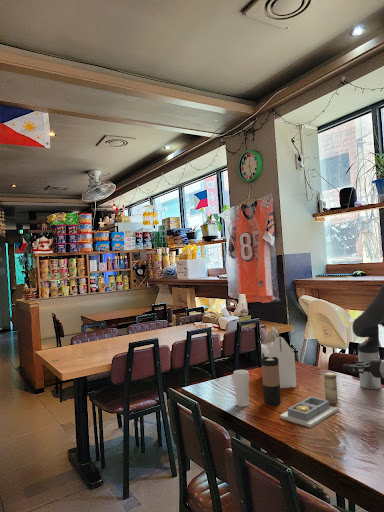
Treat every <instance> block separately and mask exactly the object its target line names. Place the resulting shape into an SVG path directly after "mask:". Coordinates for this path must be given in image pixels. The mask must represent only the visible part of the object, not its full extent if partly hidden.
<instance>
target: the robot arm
mask: <svg viewBox="0 0 384 512" xmlns="http://www.w3.org/2000/svg"><path fill="white" fill-rule="evenodd" d="M378 290H379V291H378V292H377V294H376V295H375V297H374V299H373V300H372V301H371V302H370V304H368V306H367V307H366V309H365V310H364V311H363V312H362V313H361V314H360V315H359V316H358V317H356V318H355V319H354V320H353V322H352V332H353V334H354V335H355V336H356V337H358V338H367V339H366V340H365V341H363V342H361V343H359V344H357V354H358V361H357V360H355V361H353V363H354V364H345V363H344V364H342V369H343V370H344V371H349V373H351V374H352V373H354V374H359V385H360V386H359V387H361V388H362V389H368V390H378V389H381V388H382V383H381V379H384V358H380V351H379V347H380V339H379V338H380V335H379V334H380V333H379V332H380V331H379V330H380V328H379V327H380V326H379V325H381V324H383V323H384V283H383V284H382V285H381V287H380V288H379V289H378Z"/></svg>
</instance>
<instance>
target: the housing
mask: <svg viewBox="0 0 384 512" xmlns="http://www.w3.org/2000/svg"><path fill="white" fill-rule="evenodd" d="M338 411H339V408H338V407H335V406H332V405H330V403H329V401H327V400H326V399H323V398H318V397H315V396H309V397H307V398H304V399H303V400H301V401H300V402H297V403H296V404H293V405H291V406H290V407H287V410H286V411H285V412H283V413H281V414H280V415H279V418H280V419H283V420H285V421H287V422H288V421H289V422H292V423H295V424H298V425H301V426H304V427H308V428H313V427H314V426H316V425H317V424H319V423H321V422H322V421H324V420H326V419H327V418H329V417H330V416H332V415H333V414H335V413H337V412H338Z"/></svg>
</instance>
